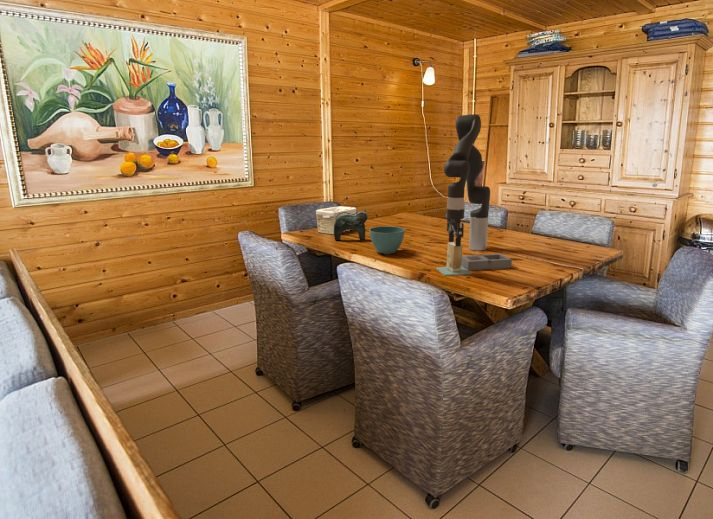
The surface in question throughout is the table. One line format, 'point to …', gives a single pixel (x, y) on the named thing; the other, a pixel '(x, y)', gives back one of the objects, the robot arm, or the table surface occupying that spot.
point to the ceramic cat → (350, 224)
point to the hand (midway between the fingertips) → (454, 244)
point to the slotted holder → (485, 262)
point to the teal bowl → (386, 238)
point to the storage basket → (331, 218)
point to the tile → (449, 273)
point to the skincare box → (454, 257)
